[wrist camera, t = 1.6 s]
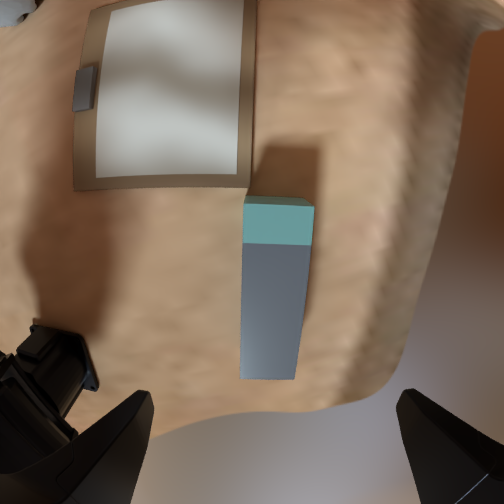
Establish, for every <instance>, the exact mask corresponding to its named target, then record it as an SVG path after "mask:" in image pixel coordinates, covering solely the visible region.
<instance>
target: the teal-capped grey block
mask: <svg viewBox="0 0 504 504" xmlns="http://www.w3.org/2000/svg"><path fill="white" fill-rule="evenodd" d="M313 220H314V206H313V205H312V204H310V203H309V202H308V201H307V200H305V199H304V198H296V197H276V196H250V195H246V196H245V200H244V210H243V248H242V292H241V346H240V379H265V380H293V379H294V378H295V372H296V365H297V359H298V352H299V345H300V338H301V331H302V324H303V316H304V308H305V300H306V292H307V283H308V274H309V264H310V254H311V243H312V232H313Z"/></svg>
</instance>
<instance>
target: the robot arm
mask: <svg viewBox="0 0 504 504" xmlns="http://www.w3.org/2000/svg"><path fill="white" fill-rule="evenodd" d="M30 332H31V335H30V336H29V337H28V338H27V339H26V340H25V341H24V342H23V343H22V344H21V345H20V346H18V347H17V349H16V352H17V354H16V355H15V356H14V355H13V354H12V353H10V354H8V355H5V353H3V352H1V351H0V504H130V503H131V499H132V496H133V492H134V489H135V486H136V483H137V480H138V476H139V473H140V470H141V467H142V463H143V460H144V456H145V454H146V450H147V447H148V441H149V436H150V431H151V425H152V420H153V415H154V405H153V401H152V398H151V394H150V392H149V391H144V390H137V391H136V392H134V393H133V394H132V395H131V396H129V397H128V398H127V399H125V400H124V401H123V402H122V403H120V404H119V405H118V406H116V407H115V408H114V409H113V410H111V411H110V412H109V413H107V414H106V415H105V416H104V417H102V418H101V419H100V420H98V421H97V422H96V423H94V424H93V425H92V426H90V427H89V428H88V429H86V430H85V431H84V432H82V433H81V434H80V435H78V434H79V433H78V431H77V430H76V429H75V428H72V427H71V426H70V425H69V424H68V423H67V422H66V421H65V417H66V415H67V414H68V412H69V411H70V409H71V407H72V406H73V404H74V403H75V401H76V399H77V398H78V396H79V395H80V393H81V391H82V390H83V389H86V390H90V391H94V392H96V391H97V390H98V388H99V386H98V383H97V380H96V378H95V375H94V372H93V369H92V366H91V363H90V360H89V357H88V354H87V350H86V347H85V344H84V340H83V338H82V337H81V336H80V335H79V334H76V333H71V332H66V331H61V330H57V329H52V328H48V327H44V326H39V325H35V324H33V325H32V326H30ZM396 412H397V416H398V421H399V425H400V431H401V436H402V440H403V444H404V447H405V450H406V454H407V457H408V460H409V463H410V466H411V470H412V473H413V476H414V480H415V484H416V487H417V491H418V494H419V498H420V502H421V504H504V445H502V444H500V443H499V442H497V441H495V440H493V439H491V438H490V437H488V436H486V435H485V434H483V433H481V432H480V431H477V430H476V429H475V428H473V427H472V426H470V425H469V424H467V423H466V422H464V421H463V420H461V419H460V418H458V417H457V416H455V415H453V414H452V413H450V412H449V411H447V410H446V409H444V408H443V407H441V406H440V405H438V404H437V403H435V402H434V401H432V400H431V399H429V398H428V397H426V396H424V395H423V394H422V393H420V392H419V391H417V390H416V389H414V388H412V389H406V390H404V391H403V392H402V394H401V396H400V398H399V400H398V403H397V405H396Z"/></svg>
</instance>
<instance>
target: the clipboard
mask: <svg viewBox="0 0 504 504" xmlns="http://www.w3.org/2000/svg"><path fill="white" fill-rule="evenodd" d="M256 9H257V0H126V1H122V2H118V3H114V4H111V5H107V6H104V7H100V8H97V9H94V10H91V12H90V16H89V20H88V24H87V29H86V34H85V39H84V44H83V49H82V55H81V61H80V68H79V70H77V71H76V78H75V87H74V96H73V108H72V111H73V112H75V116H74V136H73V180H74V191H86V190H104V189H126V188H161V187H224V188H250V178H251V147H252V118H253V90H254V62H255V35H256Z"/></svg>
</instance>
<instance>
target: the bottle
mask: <svg viewBox="0 0 504 504" xmlns="http://www.w3.org/2000/svg"><path fill="white" fill-rule="evenodd" d="M36 8H37V5H36V4H35V0H0V27H7V26H16V25H18V24H20V23H21V22H22V21H23V19H24V17H23V16H22V15H23V14H25V13H32V12H34V10H35V9H36Z"/></svg>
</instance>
